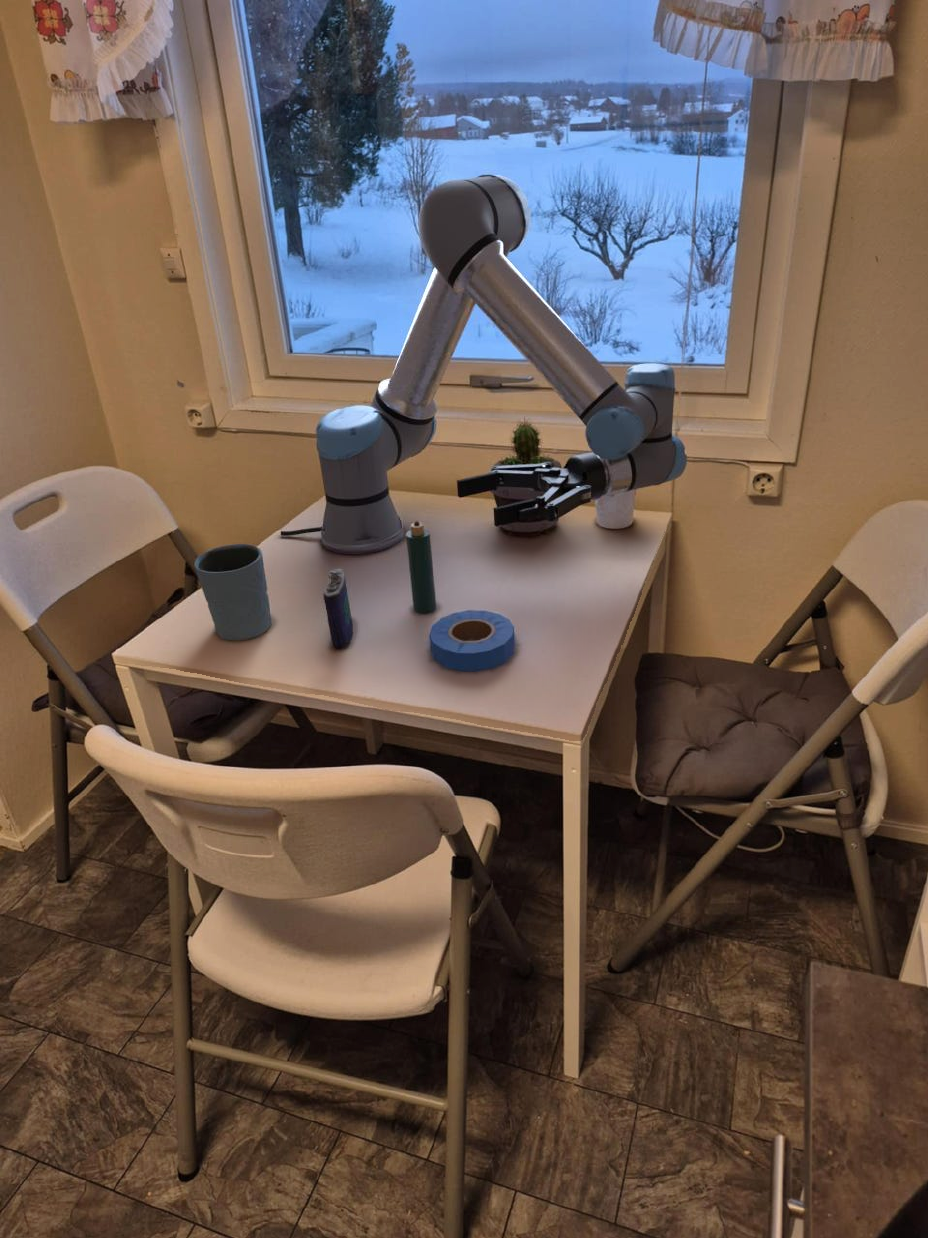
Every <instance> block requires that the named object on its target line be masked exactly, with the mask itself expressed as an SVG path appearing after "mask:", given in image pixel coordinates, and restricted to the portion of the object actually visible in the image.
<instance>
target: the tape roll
mask: <svg viewBox="0 0 928 1238" xmlns="http://www.w3.org/2000/svg"><path fill="white" fill-rule="evenodd" d="M470 639H476V640H470ZM477 639H478V640H477ZM515 645H516V639H515V626H514V625H513V623H512V622H511V620H510V619H509V618H507V617H506V616H504V615H503V614H501V613H497V612H493V611H489V610H481V609H480V610H479V609H478V610H477V609H475V610H474V609H467V610H464V611H456V612H452V613H451V614H448V615H445V616H443V617H441V618H440V619H439V620H436V622H435V623H434V624H432V626H431V628H430V631H429V647H430V653H431V655H432V658H433V660H434V662H436V663H438V664H439V665H441V666H442V667H444V668H447V669H450V670H454V671H457V672H479V671H485V670H491V669H494V668H495V667H496V668H497V667H498V666H500V665H502V664H504V663H506V662H507V661H508V660H509V659H510V658H511V657H512V656H513V654H514V651H515V648H516V646H515Z"/></svg>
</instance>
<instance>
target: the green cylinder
mask: <svg viewBox="0 0 928 1238" xmlns="http://www.w3.org/2000/svg"><path fill="white" fill-rule="evenodd" d="M424 525H425V524H424V523H423V522H420V521H415V522H412V523H411V524H410V525H409V528H410V529H409V530H408V531H407V532H406V533H405V540H406V548H407V549H406V550H407V557H408V570H409V577H410V587H411V596H412V606H413V611H414V612H415V613H416V614H418V615H428V614H429V615H430V614H431V613H433V612H435V611H436V610H437V600H436V599H437V598H436V590H435V589H436V587H435V576H434V565H433V554H432V543H431V542H432V541H431V532H430V530H428V529H425V526H424Z"/></svg>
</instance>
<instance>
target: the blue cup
mask: <svg viewBox="0 0 928 1238" xmlns="http://www.w3.org/2000/svg"><path fill="white" fill-rule="evenodd" d="M194 569H195V573H196V576H197V578H198V581H199V584H200V586H201V590H202V593H203V595H204V598H205V601H206V602H207V607H208V610H209V613H210V616H211V619H212V622H213V625H214V629H215V632H216V635H217V636H218V637H220V639H224V640H226V641H237V642H239V641H246V640H250V639H254V638H257V637H259V636H261V635H262V634H264V633H266V632H267V631H268V630H269V629H270V628H271V625H272V615H271V607H270V598H269V594H268V586H267V579H266V572H265V571H266V570H265V565H264V558H263V552H262V550H261V548H259V547H258V546H256V545H253V544H246V543H235V544H228V545H221V546H218V547H215V548H212V549H210V550H207V551H205V552H202V554H200V555H199V556H198V557H196V559H195V560H194Z"/></svg>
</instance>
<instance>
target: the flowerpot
mask: <svg viewBox="0 0 928 1238" xmlns="http://www.w3.org/2000/svg"><path fill="white" fill-rule="evenodd" d="M525 418H526V417H523V420H524V421H523V422H522V421H521V420H517V424H516V427H514V428H513V429H512V430H511V434H513V436H511V437H508V439H509V441H508V442H509V443H510V444H511V445H510V446H512V447H513V448H512V453H513V454H514V455H512V454H510V452H509V453H508V452H507V453H508V455H509V457H508V456H507V454H506V455H504V457H505V458H503V457H501V459H500V460H498V461H497V462H495V463H494V464H493V466H505V465H525V464H539V463H545V462H550V463H551V468H563V467H562V463H561V462H560V461H559V460H555V458H553V457H551V455H546V454H545V453H544V452H542V451H543V450H544V448H542V447H541V444H544V442H542V437H540V436H541V431H539V429H538V428H539V427H536V425H533V424H534V422H533V423H532V422H529V421H528V420H530V419H531V417H529V418H528V419H525ZM511 434H510V435H511ZM542 455H543V456H542ZM488 473H492V471H491V470H489V471H488ZM539 481H540V480H539ZM489 492H490V493H491V494H492V496H493V498H494V502H495V507H500V506H504V505H508V504H513V503H517V502H521V501H525V500H530V499H534V500H535V503H536V504H537V496H538V498H539V497H542V496H543V495H544V494H545V493H546V492H544V491H535V490H534V489H533V488H518V487H498V488H497V490H496V491H494V490H492V491H489ZM559 519H560V518H558V519H557V520H555V521H552V522H550V521H548V520H547V517H545V518H538V516H537V517H535V518H531V519H527V520H522V521H518V522H514V523H510V524H506V525H502V526H500V527H501V529H502V530H503V531H505V532H506V533H507V534H510V535H513V536H518V537H527V536H529V537H534V536H537V535H539V534H540V533H541V532H542V533H548V532H550V531H551V530H552V529H554V527H555V525H556V524H557V523H558V522H559Z"/></svg>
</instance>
